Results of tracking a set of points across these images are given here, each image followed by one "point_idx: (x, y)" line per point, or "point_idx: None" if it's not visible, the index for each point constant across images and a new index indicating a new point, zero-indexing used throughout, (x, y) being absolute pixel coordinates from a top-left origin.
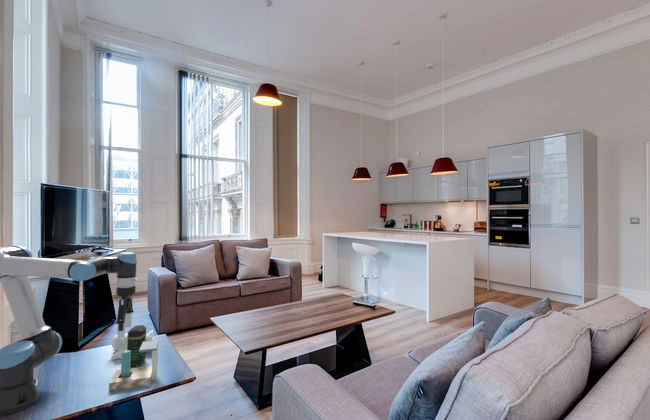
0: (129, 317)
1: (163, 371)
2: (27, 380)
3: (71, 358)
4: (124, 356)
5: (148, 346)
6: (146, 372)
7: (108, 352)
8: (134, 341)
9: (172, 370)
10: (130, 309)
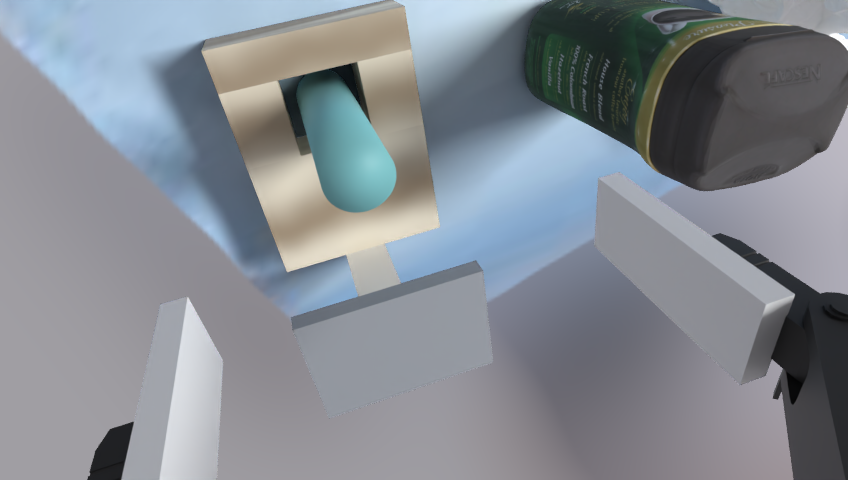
0: (692, 315)
1: (430, 248)
2: None
3: None
4: (317, 171)
5: (371, 356)
6: (349, 226)
7: None
8: (632, 105)
9: None
10: (795, 466)
